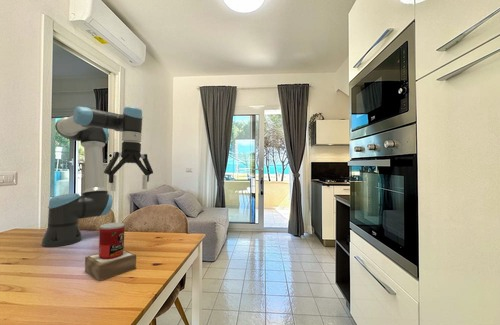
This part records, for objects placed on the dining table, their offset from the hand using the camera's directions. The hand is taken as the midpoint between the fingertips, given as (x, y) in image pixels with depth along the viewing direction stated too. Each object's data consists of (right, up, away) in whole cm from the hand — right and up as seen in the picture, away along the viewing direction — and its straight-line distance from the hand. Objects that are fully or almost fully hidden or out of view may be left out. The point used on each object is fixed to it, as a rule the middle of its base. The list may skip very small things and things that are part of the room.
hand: (129, 190), depth 100 cm
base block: (+3, -27, -18) cm, 32 cm away
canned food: (+3, -22, -18) cm, 28 cm away
